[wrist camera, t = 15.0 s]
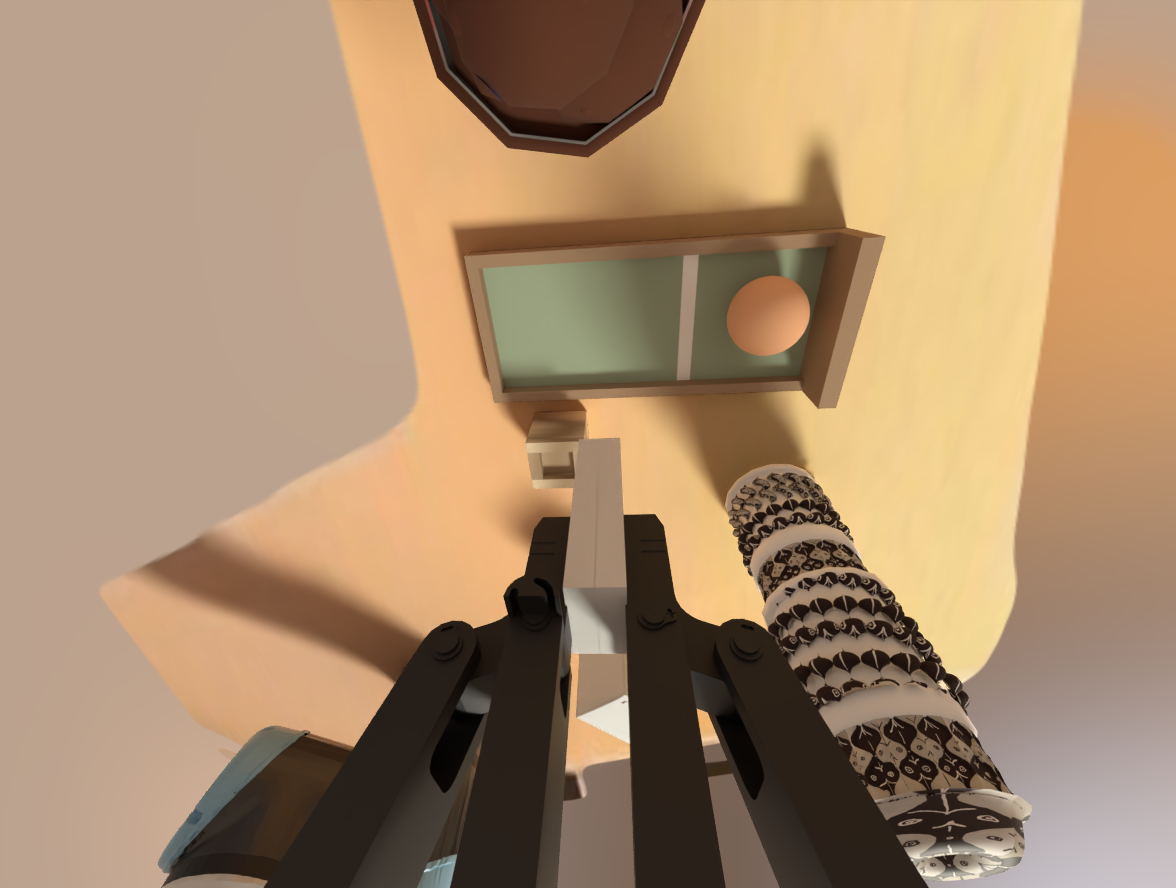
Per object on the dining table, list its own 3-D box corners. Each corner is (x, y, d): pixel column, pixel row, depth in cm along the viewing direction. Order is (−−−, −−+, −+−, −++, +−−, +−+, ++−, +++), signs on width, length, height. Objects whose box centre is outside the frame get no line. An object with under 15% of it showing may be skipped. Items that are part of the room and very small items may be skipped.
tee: (541, 455, 38) (533, 488, 34) (534, 412, 35) (525, 443, 31) (589, 453, 38) (587, 487, 34) (586, 410, 35) (583, 441, 31)
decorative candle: (770, 442, 36) (994, 813, 15) (843, 489, 39) (1124, 865, 18) (700, 508, 40) (799, 866, 20) (770, 546, 43) (924, 902, 22)
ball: (741, 342, 32) (706, 352, 28) (755, 271, 29) (720, 273, 26) (809, 356, 29) (779, 369, 25) (831, 277, 26) (802, 281, 23)
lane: (498, 393, 35) (485, 420, 31) (470, 252, 29) (449, 264, 25) (809, 381, 33) (835, 407, 29) (846, 227, 27) (885, 236, 23)
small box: (581, 595, 49) (573, 718, 38) (621, 570, 46) (625, 694, 35) (628, 626, 51) (633, 749, 40) (668, 604, 49) (685, 729, 38)
